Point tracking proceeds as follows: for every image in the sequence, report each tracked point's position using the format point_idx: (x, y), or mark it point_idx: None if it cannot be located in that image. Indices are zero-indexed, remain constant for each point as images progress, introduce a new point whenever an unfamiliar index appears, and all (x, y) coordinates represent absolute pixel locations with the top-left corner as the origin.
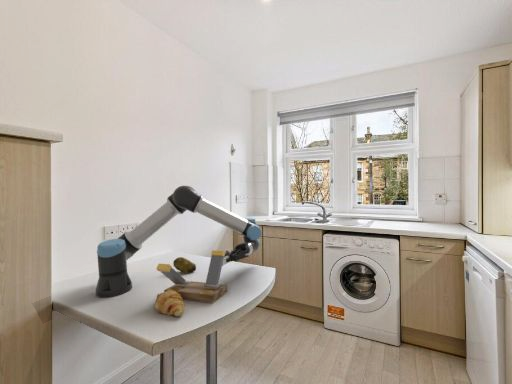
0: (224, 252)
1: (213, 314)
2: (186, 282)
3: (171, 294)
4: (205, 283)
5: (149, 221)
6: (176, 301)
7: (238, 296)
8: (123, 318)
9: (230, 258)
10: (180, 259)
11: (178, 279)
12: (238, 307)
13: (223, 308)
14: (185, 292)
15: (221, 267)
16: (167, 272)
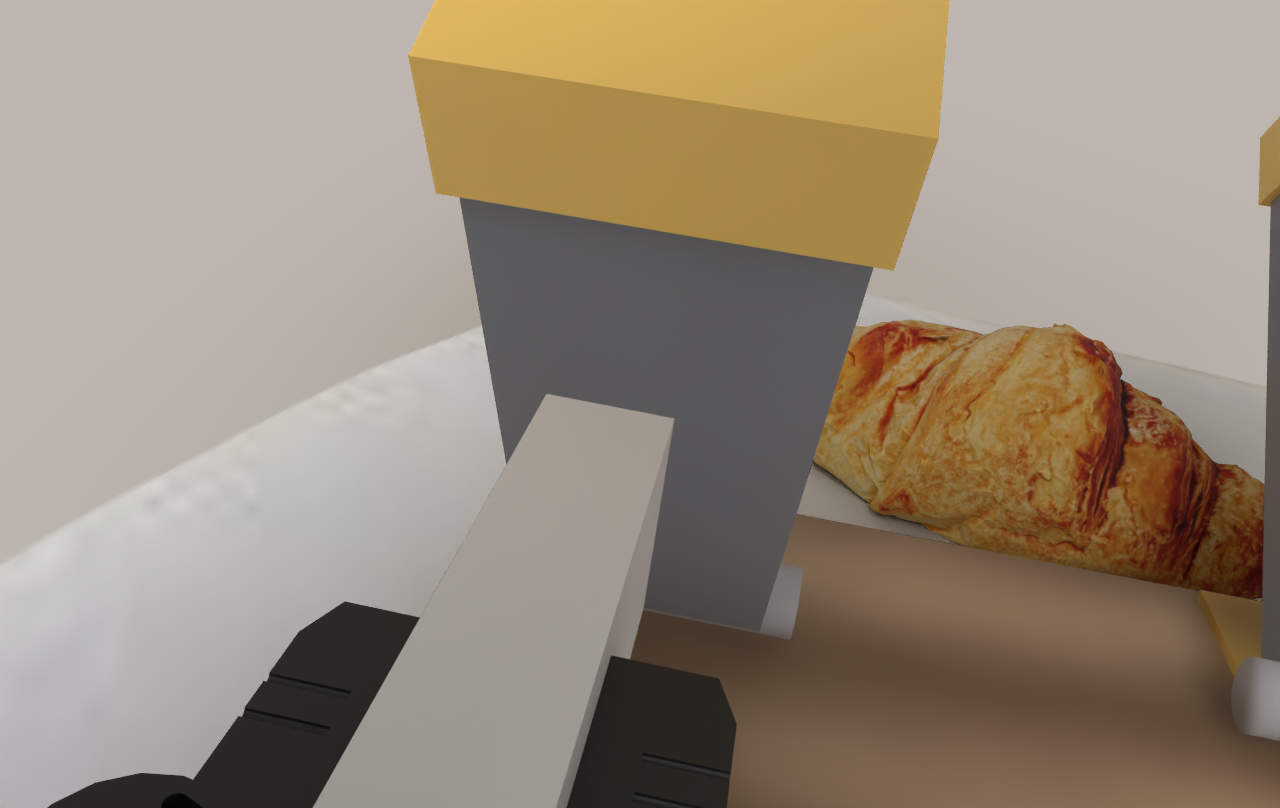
0: (428, 31)
1: (448, 400)
2: (1255, 683)
3: (983, 339)
4: (782, 563)
5: None
6: (854, 333)
7: (138, 704)
8: (1220, 412)
9: (205, 777)
10: None
11: (1268, 476)
12: (174, 468)
13: (361, 464)
14: (1006, 555)
15: (497, 392)
16: None
